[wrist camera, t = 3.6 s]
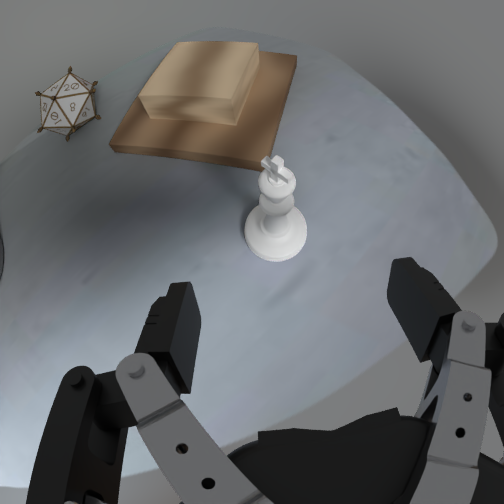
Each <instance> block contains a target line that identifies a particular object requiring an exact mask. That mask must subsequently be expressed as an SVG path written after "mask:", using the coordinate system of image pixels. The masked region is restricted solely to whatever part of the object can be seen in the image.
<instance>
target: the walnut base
mask: <svg viewBox="0 0 504 504" xmlns="http://www.w3.org/2000/svg"><path fill="white" fill-rule="evenodd" d="M296 65H297V56H296V55H289V54H281V53H273V52H264V51H259V50H258V43H247V42H222V41H201V42H177V43H176V44H175V46H174V47H173V48H172V49H171V50H170V51H169V53H168V54H167V55H166V57H165V58H164V59H163V60H162V62H161V63H160V64H159V66H158V67H157V69H156V70H155V71H154V73H153V74H152V75H151V77H150V78H149V80H148V81H147V83H146V84H145V85H144V87H143V88H142V90H141V91H140V93H139V94H138V96H137V98H136V99H135V101H134V102H133V104H132V105H131V107H130V109H129V110H128V112H127V113H126V115H125V117H124V118H123V120H122V122H121V123H120V125H119V127H118V129H117V130H116V132H115V134H114V136H113V137H112V139H111V141H110V143H109V145H110V147H111V148H112V149H113V150H114V152H119V153H131V154H142V155H152V156H161V157H169V158H178V159H185V160H193V161H200V162H207V163H213V164H220V165H226V166H232V167H238V168H244V169H249V170H255V171H260V172H262V171H263V170H264V169H265V168H264V167H262V166H261V161H262V160H263V159H264V158H265V157H266V156H268V157H269V158H270V156H271V152H272V149H273V145H274V142H275V138H276V135H277V131H278V128H279V124H280V121H281V117H282V114H283V110H284V107H285V103H286V100H287V96H288V93H289V89H290V86H291V82H292V79H293V75H294V72H295V69H296Z"/></svg>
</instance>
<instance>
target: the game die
mask: <svg viewBox="0 0 504 504" xmlns="http://www.w3.org/2000/svg"><path fill="white" fill-rule="evenodd" d="M71 71H72V68H71V66H70V67H69V69H68V74H67V75H65V76H64V77H62V78H61V79H60V80H58V81H57V82H56V83H54V84H53V85H52V86H50V87H49V88H48V89H47V90H45V91H44V92H43V93H40V92H39V91H38V92H35V94H36V96H40V106H41V122H42V127H40V128H39V129H38V131H37V133H39V132H41V131H42V130H43V129H47V130H50V131H53V132H56V133H59V134H63V135H66V140H67V142H68V141H69V139H70V138H69V135H70V134H71V133H73V132H75V130H77V129H78V128H80V127H81V126H82V125H84V124H85V123H87V122H88V121H90V120H91V119H93V118H94V117H95V118H96V119H101V117H100V115H96V111H95V100H94V93H95V90H96V89H94V86H95V85H97V83H98V81H95V82H93V84H91V83H89V82H87V81H85V80H83V79H82V78H80V77H78V76H76V75H74V74H72V73H71Z"/></svg>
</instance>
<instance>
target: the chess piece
mask: <svg viewBox="0 0 504 504" xmlns="http://www.w3.org/2000/svg"><path fill="white" fill-rule="evenodd" d="M261 166H262V167H264V168H265V169H264V170H263V171H262V172H261V174H260V176H259V178H258V185H259V188H260V190H261V192H262V193H261V194H260V197H259V205H258V206H256V207H255V208H254V209H253V210H252V211H251V212H250V213H249V215H248V217H247V219H246V222H245V228H244V235H245V240H246V243H247V245H248V247H249V248H250V249H251V251H252V252H253V253H254V254H256V255H257V256H258V257H260V258H262V259H264V260H268V261H275V262H277V261H284V260H287V259H290V258H292V257H293V256H295V255H296V254H297V253H298V252H299V251H300V250H301V249H302V247H303V246H304V244H305V241H306V237H307V225H306V221H305V219H304V216H303V215H302V213H301V212H300V211H299V210H298V209H297V208H296V207H295V206H294V197H293V194H292V192H293V191H294V189H295V186H296V179H295V176H294V174H293V173H292V172H291V171H290V170H289V169H288V168H286V167H284V160H283V159H282V158H280V157H279V156H277V155H276V156H275V157H274V158H273V159H271V158H269V157H268V156H266V157H265V158H264V159H263V160H262V161H261Z"/></svg>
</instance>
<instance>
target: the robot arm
mask: <svg viewBox="0 0 504 504" xmlns="http://www.w3.org/2000/svg"><path fill="white" fill-rule="evenodd" d="M2 267H3V245H2V241H1V238H0V278H1V273H2ZM387 299H388V303H389V305H390V307H391V309H392V311H393V312H394V314H395V316H396V318H397V320H398V321H399V323H400V325H401V327H402V329H403V331H404V332H405V334H406V336H407V338H408V340H409V342H410V344H411V345H412V347H413V350H414V351H415V353H416V355H417V357H418V359H419V361H420V362H424V361H427V360H431V361H432V365H431V367H430V370H429V374H428V377H427V381H426V385H425V388H424V392H423V395H422V398H421V402H420V404H419V407H418V409H417V412H416V413H415V415H414V417H412V416H400V414H399V411H398V408H397V407H396V408H393V409H389V410H385V411H382V412H378V413H374V414H370V415H366V416H364V417H362V418H360V419H358V420H356V421H354V422H351V423H349V424H347V425H345V426H343V427H340V428H338V429H336V430H332V431H325V430H324V431H323V430H309V429H297V428H292V429H282V430H272V431H258V440H257V441H253V442H250V443H248V444H245V445H243V446H241V447H239V448H237V449H236V450H234V451H233V452H231V453H230V454H228V455H227V456H226V455H225V454H224V452H223V451H222V450H221V449H220V448H219V446H218V445H217V444H216V443H215V442H214V441H213V439H212V438H211V437H210V436H209V434H208V433H207V432H206V431H205V429H204V428H203V427H202V426H201V424H200V423H199V422H198V420H197V419H196V418H195V416H194V415H193V414H192V413H191V411H190V410H189V408H188V407H187V406H186V404H185V403H184V402H183V401H182V400H181V399H180V395H181V394H190V393H191V386H192V380H193V373H194V366H195V360H196V354H197V348H198V341H199V335H200V329H201V315H200V311H199V307H198V304H197V300H196V297H195V293H194V290H193V286H192V284H191V282H179V283H171V284H170V287H169V289H168V292H167V295H166V296H164V297H159V298H158V299H157V300H156V301H155V303H154V304H153V305H152V306H151V309H150V311H149V314H148V317H147V319H146V322H145V325H144V327H143V330H142V332H141V335H140V338H139V341H138V343H137V346H136V349H135V352H134V354H131V355H129V356H127V357H125V358H124V359H123V360H122V361H121V362H120V363H119V364H118V366H117V369H116V370H115V371H111V372H106V373H102V374H97V375H95V374H94V372H93V371H92V370H91V369H90V368H89V367H87V366H77V367H74V368H72V369H71V370H69V371H68V372H67V373H66V374H65V376H64V377H63V379H62V381H61V384H60V386H59V389H58V392H57V394H56V397H55V400H54V402H53V405H52V408H51V411H50V414H49V416H48V419H47V422H46V426H45V429H44V432H43V435H42V438H41V442H40V445H39V449H38V452H37V456H36V460H35V463H34V467H33V471H32V476H31V480H30V485H29V490H28V495H27V500H26V504H118V495H119V487H120V479H121V472H122V464H123V458H124V451H125V445H126V439H127V433H128V428H129V427H132V426H136V427H137V429H138V432H139V433H140V435H141V437H142V439H143V441H144V443H145V444H146V446H147V448H148V450H149V451H150V453H151V455H152V456H153V458H154V460H155V461H156V463H157V465H158V466H159V468H160V469H161V471H162V473H163V474H164V476H165V477H166V479H167V480H168V481H169V483H170V485H171V486H172V488H173V489H174V490H175V492H176V493H177V495H178V496H179V497H180V499H181V500H182V502H180V503H179V504H504V453H503V457H502V458H501V459H500V461H499V462H497V461H495V460H493V459H492V458H490V457H488V456H486V455H484V454H482V453H481V452H480V449H481V444H482V440H483V435H484V430H485V424H486V418H487V412H488V407H489V409H490V411H491V414H492V416H493V419H494V421H495V424H496V427H497V429H498V432H499V435H500V437H501V440H502V443H503V446H504V313H503V314H502V315H501V317H500V319H499V322H498V323H484V321H483V320H482V318H481V317H480V316H478V315H477V314H476V313H473V312H471V311H462V310H461V309H460V307H459V306H458V305H457V304H456V302H455V301H454V300H453V298H452V297H451V296H450V295H449V293H448V292H447V291H446V290H444V287H443V286H442V285H441V283H439V281H438V280H437V279H436V277H435V276H434V275H433V274H432V273H431V272H429V271H428V270H426V269H424V268H423V267H420V266H419V265H418V264H417V263H416V262H415V260H414V259H413V258H412V257H407V258H399V259H394V260H393V262H392V266H391V272H390V277H389V283H388V288H387Z"/></svg>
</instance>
